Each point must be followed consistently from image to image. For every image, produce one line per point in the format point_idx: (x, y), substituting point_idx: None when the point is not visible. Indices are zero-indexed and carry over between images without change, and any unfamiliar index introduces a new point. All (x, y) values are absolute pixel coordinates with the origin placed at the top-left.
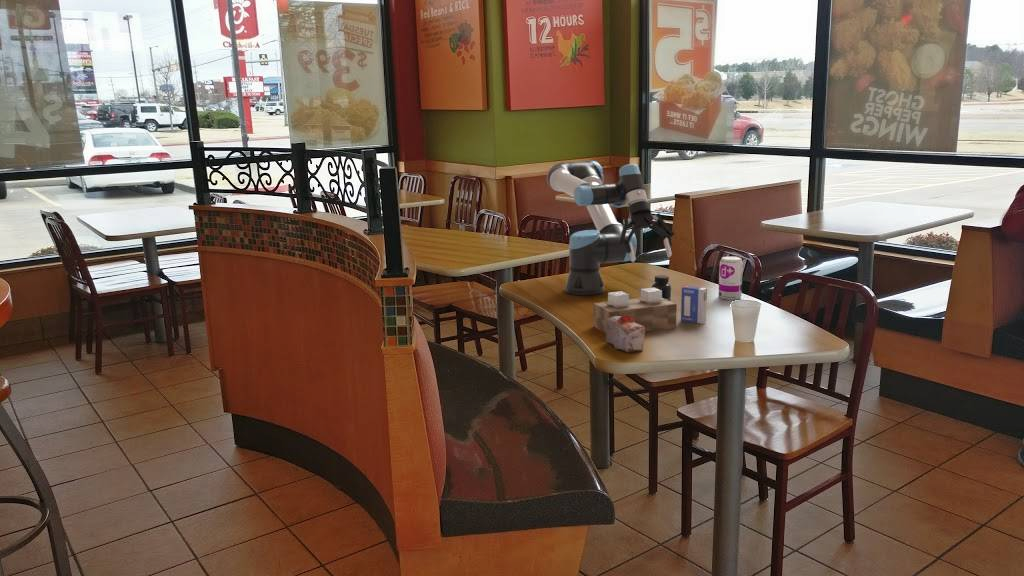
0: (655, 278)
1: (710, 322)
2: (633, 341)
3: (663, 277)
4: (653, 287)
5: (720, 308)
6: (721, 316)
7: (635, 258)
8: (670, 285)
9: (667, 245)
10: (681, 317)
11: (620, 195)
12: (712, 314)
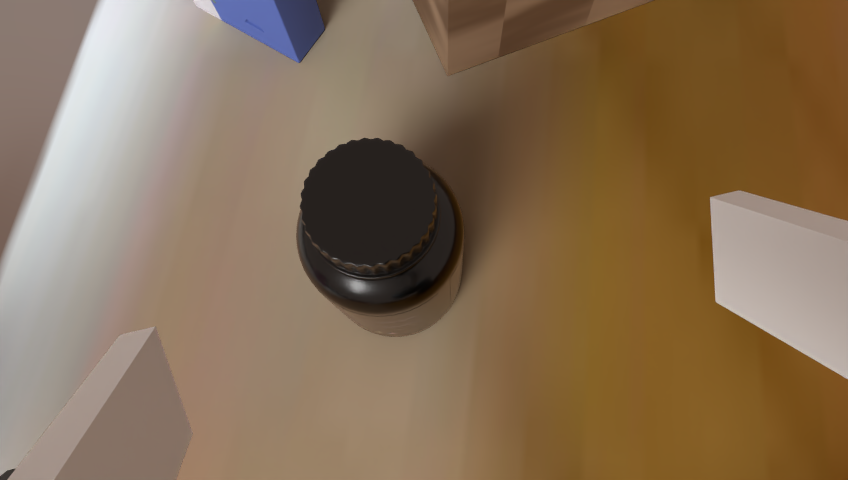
0: (433, 186)
1: (174, 3)
2: None
3: (357, 157)
4: (453, 193)
5: (5, 287)
6: (72, 110)
7: (720, 200)
8: (299, 223)
9: (98, 426)
10: (318, 15)
11: None
12: (107, 152)
